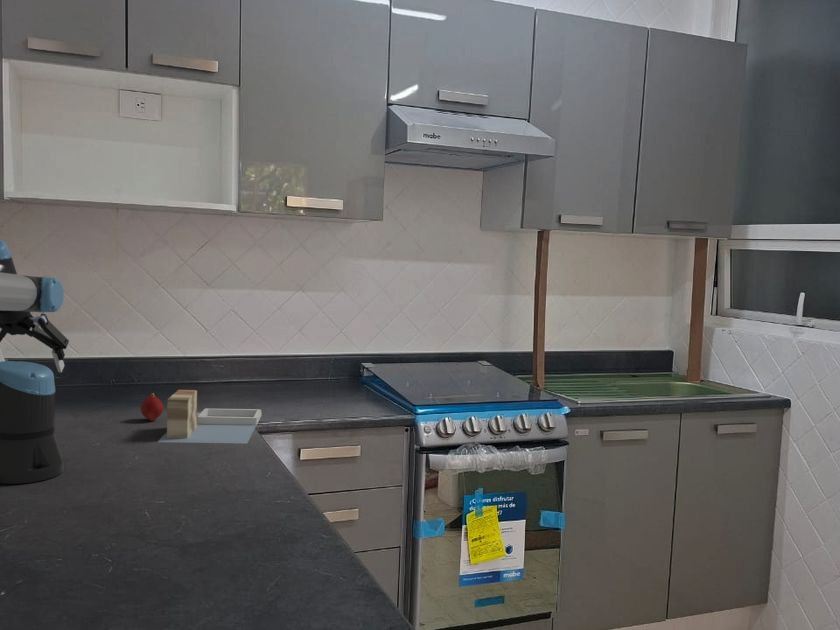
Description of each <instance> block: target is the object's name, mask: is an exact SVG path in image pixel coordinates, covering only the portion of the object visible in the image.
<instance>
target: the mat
mask: <svg viewBox="0 0 840 630" xmlns="http://www.w3.org/2000/svg"><path fill="white" fill-rule="evenodd" d="M201 412H202V411H201ZM201 412H199V411H197V417H198V416H199V415H200V413H201ZM262 416H263V413H261V417H260V419H261V418H262ZM215 417H229V416H215ZM256 427H257V425H216V424H197V427H196V429H195V430H194V431H193V432H192V433H191V435H190V436H189V437H188V438H167V431H166V432H165V433H164V434H163V435H162V436H161V437H160V438H159V440H158V441H157V443H167V444H168V443H173V444H174V443H176V444H177V443H180V444H181V443H182V444H183V443H184V444H185V443H187V444H241V445H242V444H248V442H249V441H250V439H251V437H252V435H253V433H254V431H255V429H256Z"/></svg>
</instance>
